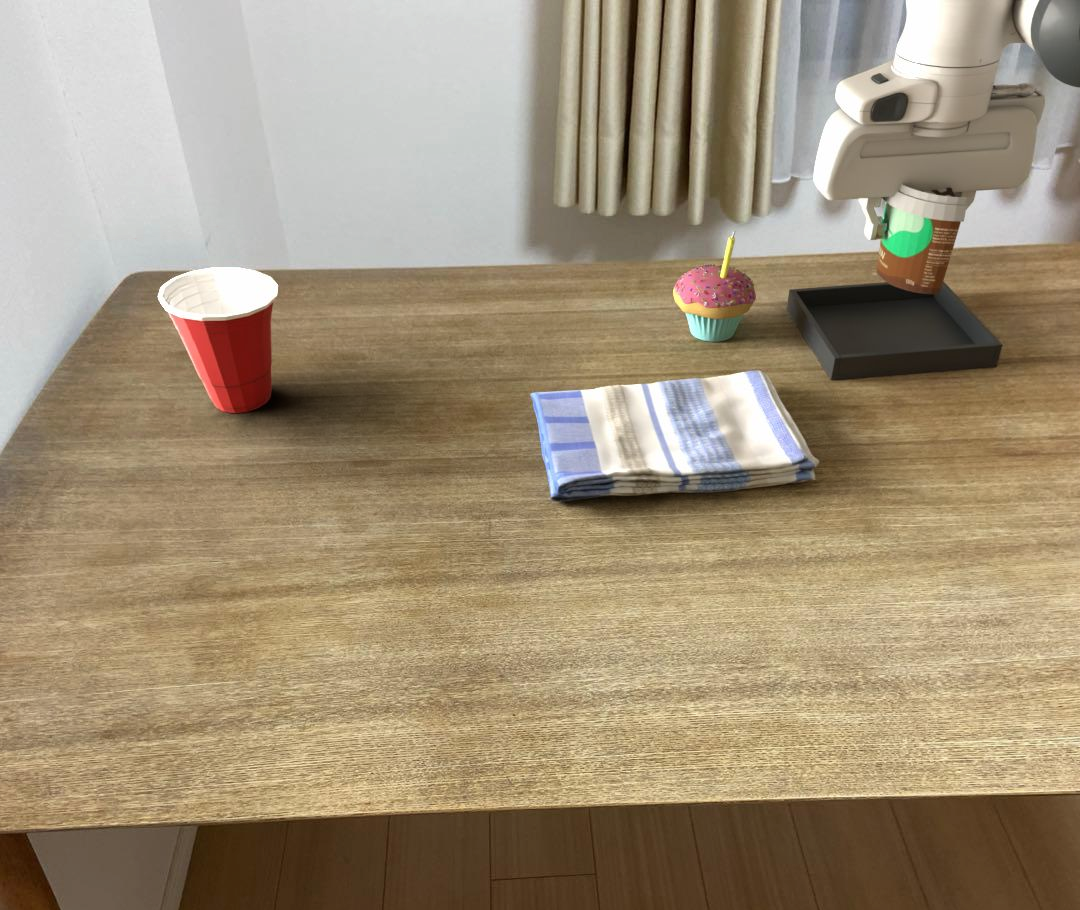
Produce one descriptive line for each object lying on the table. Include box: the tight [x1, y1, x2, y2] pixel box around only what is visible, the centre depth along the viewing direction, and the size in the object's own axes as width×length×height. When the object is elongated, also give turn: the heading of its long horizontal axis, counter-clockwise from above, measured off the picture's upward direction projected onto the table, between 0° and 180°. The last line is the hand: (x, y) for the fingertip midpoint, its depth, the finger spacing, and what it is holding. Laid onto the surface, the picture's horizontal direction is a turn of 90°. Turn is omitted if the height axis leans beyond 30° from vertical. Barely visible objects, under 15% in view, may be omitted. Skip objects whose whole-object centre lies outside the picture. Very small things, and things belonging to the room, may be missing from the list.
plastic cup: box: [157, 266, 279, 414], centre depth 98 cm, size 11×11×12 cm
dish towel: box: [530, 369, 821, 502], centre depth 93 cm, size 17×24×3 cm
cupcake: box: [672, 230, 757, 343], centre depth 106 cm, size 9×8×12 cm
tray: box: [785, 281, 1004, 381], centre depth 107 cm, size 17×15×2 cm
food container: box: [876, 184, 968, 294], centre depth 100 cm, size 12×6×10 cm, turn 178°
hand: (907, 235), depth 101 cm, fingers closed on food container, 6 cm apart
